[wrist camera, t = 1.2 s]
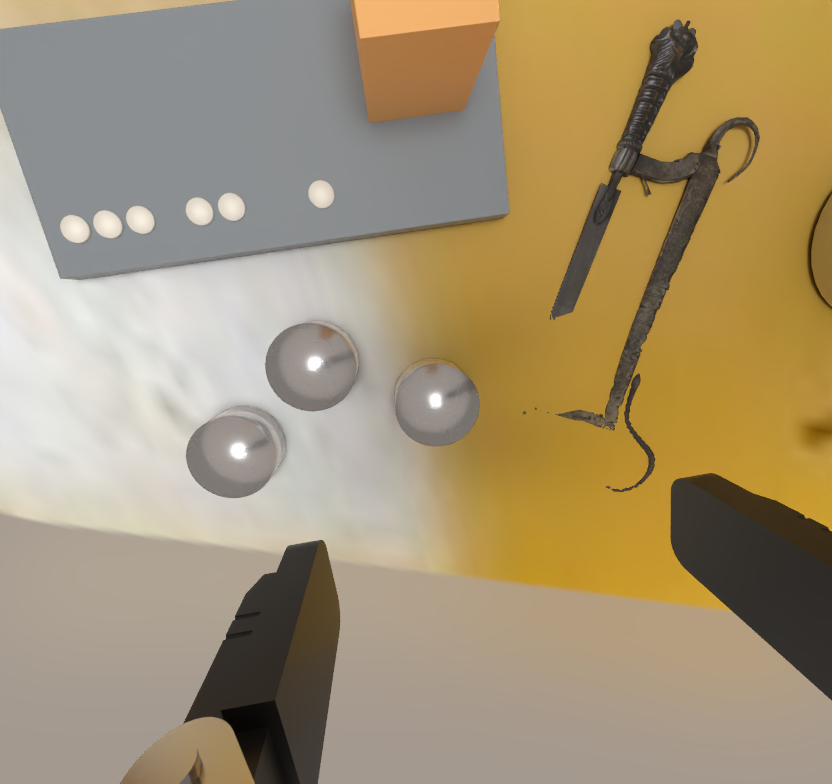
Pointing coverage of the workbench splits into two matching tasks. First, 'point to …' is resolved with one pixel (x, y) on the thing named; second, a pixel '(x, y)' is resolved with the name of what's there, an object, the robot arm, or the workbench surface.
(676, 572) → the workbench surface
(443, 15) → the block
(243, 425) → the steel cylinder
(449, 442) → the steel cylinder
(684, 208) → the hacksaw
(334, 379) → the steel cylinder
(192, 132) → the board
